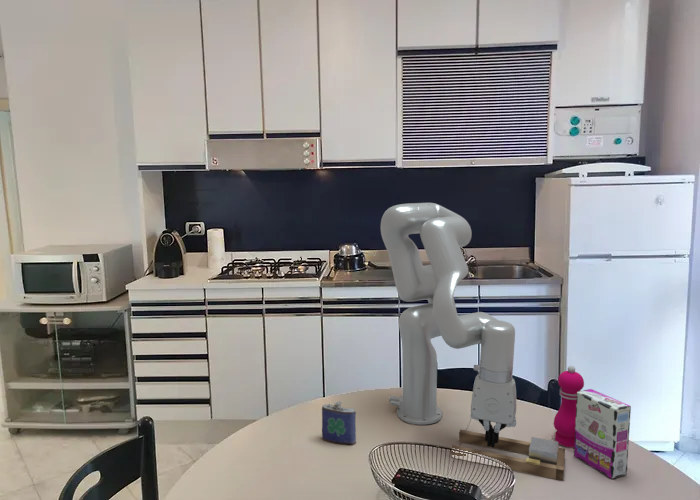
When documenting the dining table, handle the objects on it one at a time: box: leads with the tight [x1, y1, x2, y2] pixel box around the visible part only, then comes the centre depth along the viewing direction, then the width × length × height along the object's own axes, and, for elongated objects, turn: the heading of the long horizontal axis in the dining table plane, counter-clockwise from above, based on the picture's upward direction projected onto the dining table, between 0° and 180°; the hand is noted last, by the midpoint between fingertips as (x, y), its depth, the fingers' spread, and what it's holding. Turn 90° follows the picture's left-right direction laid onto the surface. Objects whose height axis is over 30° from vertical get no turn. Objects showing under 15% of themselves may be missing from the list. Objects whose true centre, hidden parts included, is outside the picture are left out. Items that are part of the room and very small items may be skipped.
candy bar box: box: [573, 388, 632, 480], centre depth 121 cm, size 11×5×16 cm, turn 23°
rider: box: [528, 436, 559, 465], centre depth 122 cm, size 6×6×5 cm
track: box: [450, 429, 566, 481], centre depth 125 cm, size 25×10×3 cm, turn 66°
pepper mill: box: [553, 365, 585, 448], centre depth 132 cm, size 7×7×20 cm
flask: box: [321, 400, 357, 446], centre depth 134 cm, size 9×3×11 cm, turn 68°
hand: (491, 444), depth 127 cm, fingers closed
